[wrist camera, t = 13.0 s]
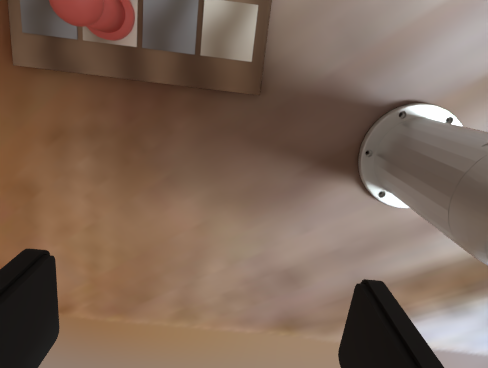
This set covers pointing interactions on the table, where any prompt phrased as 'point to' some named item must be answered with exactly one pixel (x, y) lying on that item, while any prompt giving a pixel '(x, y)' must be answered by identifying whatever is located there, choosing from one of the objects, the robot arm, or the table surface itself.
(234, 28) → the board
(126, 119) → the table surface
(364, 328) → the robot arm
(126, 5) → the pawn
